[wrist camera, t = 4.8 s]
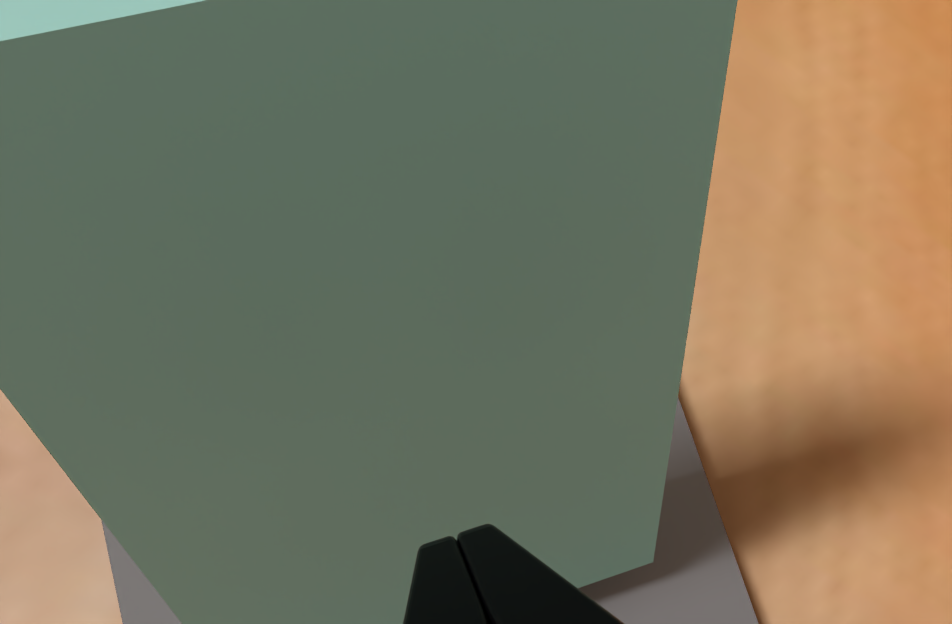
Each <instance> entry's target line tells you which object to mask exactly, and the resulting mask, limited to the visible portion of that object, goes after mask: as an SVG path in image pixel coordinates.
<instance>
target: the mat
mask: <svg viewBox="0 0 952 624" xmlns="http://www.w3.org/2000/svg"><path fill="white" fill-rule="evenodd" d="M102 525H103V530H104V535H105V540H106V544H107V549H108V554H109V559H110V564H111V569H112V573H113V578H114V583H115V588H116V593H117V597H118V602H119V607H120V612H121V617H122V622H123V624H182V623H181V622H180V620H179V619H178V618H177V617H176V615H175V614H174V613H173V611H172V610H171V609H170V607H169V606H168V605H167V604H166V602H165V601H164V600H163V598H162V597H161V596H160V595H159V593H158V592H157V591H156V589H155V588H154V587H153V586H152V584H151V583H150V582H149V580H148V579H147V578H146V576H145V575H144V574H143V573H142V571H141V570H140V569H139V567H138V566H137V565H136V564H135V562H134V561H133V560H132V558H131V557H130V556H129V554H128V553H127V552H126V551H125V549H124V548H123V547H122V545H121V544H120V543H119V542H118V540H117V539H116V538H115V536H114V535H113V534H112V533H111V531H110V530H109V529H108V527H107V526H106V525H105V523H104V522H103V521H102ZM578 589H579V590H581V591H582V592H583V593H585V594H586V595H587V596H589V597H590V598H591V599H592V600H594V601H595V602H596V603H598V604H599V605H600V606H602V607H603V608H604V609H606V610H607V611H608V612H610V613H611V614H612V615H614V616H615V617H616V618H618V619H619V620H620V621H622V622H623V623H624V624H758V621H757V618H756V615H755V612H754V610H753V607H752V604H751V601H750V598H749V595H748V593H747V590H746V587H745V584H744V581H743V578H742V576H741V573H740V570H739V567H738V564H737V562H736V559H735V556H734V553H733V550H732V547H731V545H730V542H729V539H728V536H727V533H726V531H725V528H724V525H723V522H722V519H721V516H720V514H719V511H718V508H717V505H716V502H715V500H714V497H713V494H712V491H711V488H710V485H709V483H708V480H707V477H706V474H705V471H704V468H703V466H702V463H701V460H700V457H699V454H698V452H697V449H696V446H695V443H694V440H693V437H692V435H691V432H690V429H689V426H688V423H687V421H686V418H685V415H684V412H683V409H682V406H681V404H680V401H679V398H678V400H677V406H676V413H675V420H674V426H673V433H672V440H671V446H670V453H669V460H668V466H667V473H666V480H665V486H664V493H663V500H662V506H661V513H660V520H659V526H658V533H657V540H656V546H655V553H654V560H653V562H652V563H649V564H646V565H643V566H641V567H638V568H635V569H632V570H629V571H626V572H623V573H620V574H617V575H615V576H612V577H609V578H606V579H603V580H600V581H597V582H594V583H591V584H589V585H586V586H583V587H580V588H578Z"/></svg>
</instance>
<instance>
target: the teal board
mask: <svg viewBox="0 0 952 624" xmlns="http://www.w3.org/2000/svg"><path fill="white" fill-rule="evenodd" d="M736 6H737V0H0V389H1V390H2V392H3V393H4V394H5V396H6V397H7V398H8V399H9V401H10V402H11V403H12V405H13V406H14V407H15V408H16V410H17V411H18V412H19V414H20V415H21V416H22V418H23V419H24V420H25V421H26V423H27V424H28V425H29V427H30V428H31V429H32V430H33V432H34V433H35V434H36V436H37V437H38V438H39V439H40V441H41V442H42V443H43V445H44V446H45V447H46V449H47V450H48V451H49V452H50V454H51V455H52V456H53V458H54V459H55V460H56V461H57V463H58V464H59V465H60V467H61V468H62V469H63V471H64V472H65V473H66V474H67V476H68V477H69V478H70V480H71V481H72V482H73V483H74V485H75V486H76V487H77V489H78V490H79V491H80V492H81V494H82V495H83V496H84V498H85V499H86V500H87V502H88V503H89V504H90V505H91V507H92V508H93V509H94V511H95V512H96V513H97V514H98V516H99V517H100V518H101V520H102V521H103V522H104V523H105V525H106V526H107V527H108V529H109V530H110V531H111V533H112V534H113V535H114V536H115V538H116V539H117V540H118V542H119V543H120V544H121V545H122V547H123V548H124V549H125V551H126V552H127V553H128V554H129V556H130V557H131V558H132V560H133V561H134V562H135V564H136V565H137V566H138V567H139V569H140V570H141V571H142V573H143V574H144V575H145V576H146V578H147V579H148V580H149V582H150V583H151V584H152V586H153V587H154V588H155V589H156V591H157V592H158V593H159V595H160V596H161V597H162V598H163V600H164V601H165V602H166V604H167V605H168V606H169V607H170V609H171V610H172V611H173V613H174V614H175V615H176V617H177V618H178V619H179V620H180V622H181V623H182V624H403V620H404V615H405V611H406V606H407V601H408V596H409V591H410V586H411V581H412V576H413V571H414V567H415V562H416V557H417V552H418V549H419V547H420V546H422V545H423V544H426V543H429V542H432V541H435V540H438V539H441V538H444V537H447V536H453V537H454V538H455V539H456V541H457V535H458V534H459V533H460V532H462V531H465V530H468V529H471V528H474V527H477V526H480V525H484V524H492V525H494V526H495V527H497V528H498V529H499V530H501V531H502V532H503V533H505V534H506V535H507V536H509V537H510V538H511V539H513V540H514V541H515V542H517V543H518V544H519V545H521V546H522V547H523V548H525V549H526V550H527V551H529V552H530V553H531V554H533V555H534V556H535V557H537V558H538V559H539V560H541V561H542V562H543V563H545V564H546V565H547V566H549V567H550V568H551V569H553V570H554V571H555V572H557V573H558V574H559V575H561V576H562V577H563V578H565V579H566V580H567V581H569V582H570V583H571V584H573V585H574V586H575V587H577V588H580V587H583V586H586V585H589V584H591V583H594V582H597V581H600V580H603V579H606V578H609V577H612V576H615V575H617V574H620V573H623V572H626V571H629V570H632V569H635V568H638V567H641V566H643V565H646V564H649V563H652V562H653V560H654V553H655V546H656V540H657V533H658V526H659V520H660V513H661V506H662V500H663V493H664V486H665V480H666V473H667V466H668V460H669V453H670V446H671V440H672V433H673V426H674V420H675V413H676V406H677V400H678V393H679V386H680V380H681V373H682V366H683V360H684V353H685V346H686V340H687V333H688V326H689V320H690V313H691V306H692V300H693V293H694V286H695V280H696V273H697V266H698V260H699V253H700V246H701V240H702V233H703V226H704V220H705V213H706V206H707V200H708V193H709V186H710V180H711V173H712V166H713V160H714V153H715V146H716V140H717V133H718V126H719V120H720V113H721V106H722V100H723V93H724V86H725V80H726V73H727V66H728V60H729V53H730V46H731V40H732V33H733V26H734V20H735V13H736Z"/></svg>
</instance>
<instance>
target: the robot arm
mask: <svg viewBox="0 0 952 624" xmlns="http://www.w3.org/2000/svg"><path fill="white" fill-rule="evenodd" d="M403 624H624V623H623V622H622V621H620V620H619V619H618V618H616V617H615V616H614V615H612V614H611V613H610V612H608V611H607V610H606V609H604V608H603V607H602V606H600V605H599V604H598V603H596V602H595V601H594V600H592V599H591V598H590V597H589V596H587V595H586V594H585V593H583V592H582V591H581V590H579V589H578V588H577V587H575V586H574V585H573V584H571V583H570V582H569V581H567V580H566V579H565V578H563V577H562V576H561V575H559V574H558V573H557V572H555V571H554V570H553V569H551V568H550V567H549V566H547V565H546V564H545V563H543V562H542V561H541V560H539V559H538V558H537V557H535V556H534V555H533V554H531V553H530V552H529V551H527V550H526V549H525V548H523V547H522V546H521V545H519V544H518V543H517V542H515V541H514V540H513V539H511V538H510V537H509V536H507V535H506V534H505V533H503V532H502V531H501V530H499V529H498V528H497V527H495V526H494V525H492V524H484V525H480V526H477V527H474V528H471V529H468V530H465V531H462V532H460V533H459V534H458V535H457V541H456V539H455V538H454V537H453V536H447V537H444V538H441V539H438V540H435V541H432V542H429V543H426V544H423V545H422V546H420V547H419V549H418V552H417V557H416V562H415V567H414V571H413V576H412V581H411V586H410V591H409V596H408V601H407V606H406V611H405V615H404V620H403Z"/></svg>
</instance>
